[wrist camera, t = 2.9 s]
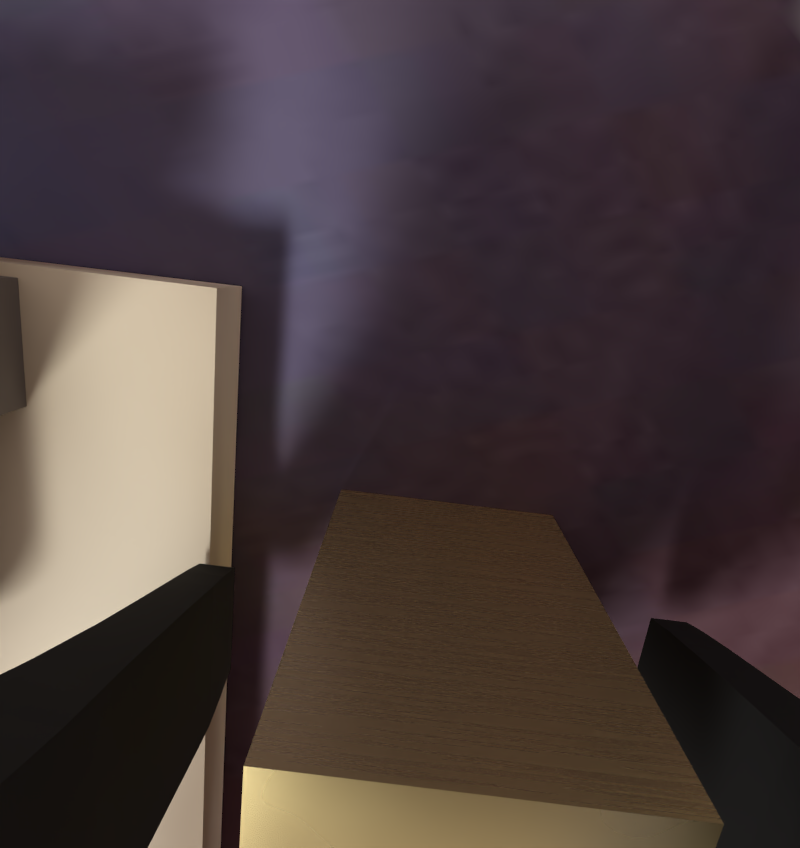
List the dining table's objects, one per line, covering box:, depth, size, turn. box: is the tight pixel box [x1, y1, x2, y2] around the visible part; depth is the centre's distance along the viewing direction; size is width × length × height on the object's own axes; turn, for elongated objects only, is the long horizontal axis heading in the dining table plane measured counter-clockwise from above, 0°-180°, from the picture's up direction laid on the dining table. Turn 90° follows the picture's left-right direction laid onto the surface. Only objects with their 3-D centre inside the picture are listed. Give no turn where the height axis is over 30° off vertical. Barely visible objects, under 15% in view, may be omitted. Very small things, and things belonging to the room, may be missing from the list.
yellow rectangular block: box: [239, 490, 724, 848], centre depth 8 cm, size 4×4×6 cm
